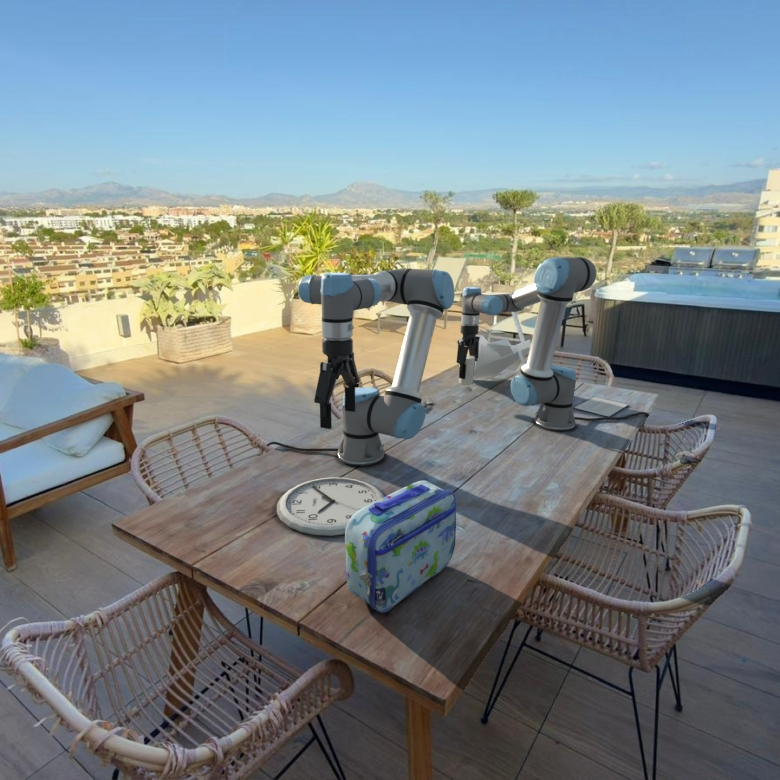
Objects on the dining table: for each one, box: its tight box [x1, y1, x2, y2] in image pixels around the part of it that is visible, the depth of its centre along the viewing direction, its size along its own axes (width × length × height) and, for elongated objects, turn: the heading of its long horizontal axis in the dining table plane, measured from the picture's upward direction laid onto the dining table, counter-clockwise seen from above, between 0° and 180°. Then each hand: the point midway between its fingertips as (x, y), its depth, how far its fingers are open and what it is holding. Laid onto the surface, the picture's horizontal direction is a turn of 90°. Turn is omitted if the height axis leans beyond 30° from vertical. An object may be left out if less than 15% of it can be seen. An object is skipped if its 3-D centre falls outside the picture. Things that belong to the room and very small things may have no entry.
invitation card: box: [573, 396, 629, 417], centre depth 226 cm, size 21×1×15 cm
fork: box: [423, 396, 435, 409], centre depth 223 cm, size 3×16×2 cm, turn 160°
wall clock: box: [276, 476, 386, 537], centre depth 142 cm, size 30×2×30 cm
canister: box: [458, 354, 475, 386], centre depth 227 cm, size 6×6×12 cm
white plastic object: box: [458, 312, 532, 379], centre depth 255 cm, size 37×45×31 cm
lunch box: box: [344, 480, 457, 614], centre depth 109 cm, size 26×11×21 cm, turn 135°
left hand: (338, 419), depth 134 cm, fingers open, 13 cm apart
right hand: (466, 376), depth 228 cm, fingers closed on canister, 6 cm apart
